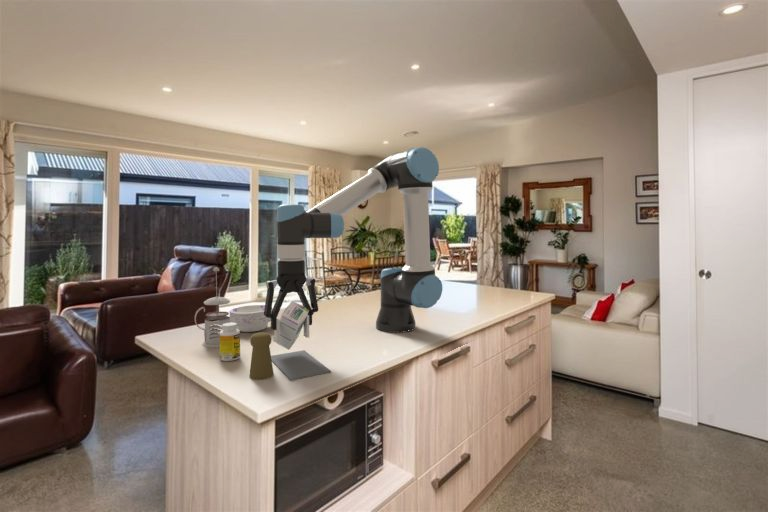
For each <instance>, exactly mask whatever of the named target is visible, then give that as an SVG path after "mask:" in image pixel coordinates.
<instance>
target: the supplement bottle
mask: <svg viewBox="0 0 768 512" xmlns="http://www.w3.org/2000/svg"><path fill="white" fill-rule="evenodd" d="M221 327H222V329H221V331H220V333H219V342H220V347H219V359H220V361H223V362H234V361H235V360H238V359H240V357H241V331H239V330H238V329H237V323H232V322H231V323H225V324H222V325H221Z"/></svg>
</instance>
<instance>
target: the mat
mask: <svg viewBox="0 0 768 512" xmlns="http://www.w3.org/2000/svg"><path fill="white" fill-rule="evenodd" d="M271 360H272V364H274V366H276V367H277V368H278V369H279V371H280V372H282V374H284V376H285V377H286V378H287V379H288V380H289V381H290V382H291V381H296V380H299V379H300V378H301V379H305V378H304V377H306V378H309V376H310V377H314V376H319V375H324V374H329V373H332V370H331V369H329V368H328V367H326V365H324V364H323V363H322V362H320V361H319V360H318V359H317V358H315V357H314V356H313V355H312V354H310V353H309V352H307V351H306V350H305V349H304V350H298V351H291V352H285V353H280V354H275V355H271ZM295 379H296V380H295Z"/></svg>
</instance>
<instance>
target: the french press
mask: <svg viewBox="0 0 768 512" xmlns="http://www.w3.org/2000/svg"><path fill="white" fill-rule="evenodd" d="M212 271H213V272H215V289H216V290H215V291H216V294H215V295H216V296H214V297H210V298H208V299H206V300H204V301H203V304H204V305H205V306H221V305H227V304H230V302H231V299H228V298H227V297H224V296H219V295H218V283H217V282H218V279H217V273H218V272H220V268H219V267H218V266H215V267H214V268H213V269H212ZM205 306H201V307H200V308H198V309H197V310H196V311H195V314H194V322H195V325H196V327H197V328H199V329H200V330H203V333H204V341H203V342H202V344H201V345H203V346H202V347H204V346H206V347H205V348H220V342H219V333H220V331H222V324H225V323H230V314H229V313H230V312H229V311H218V307H216V311H211V312H207V313H206V314H205V316H204V317H206V318H204V327H201V326H200V325H198V323H197V316H198V313H199V312H200V311H201V310H203V312H204V313H205V312H206V308H205Z"/></svg>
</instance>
